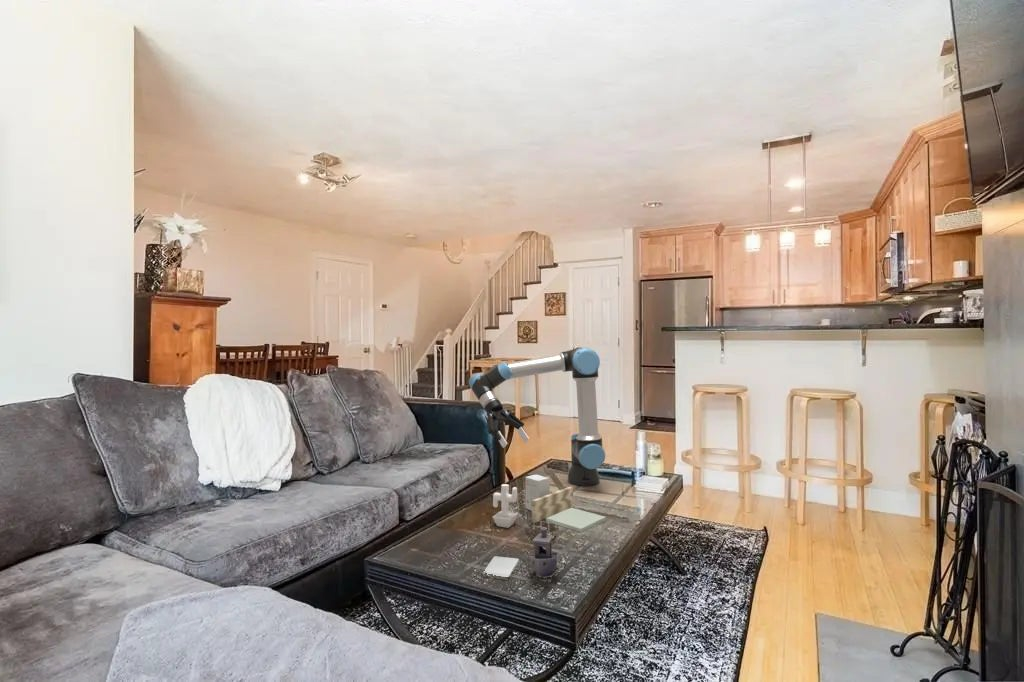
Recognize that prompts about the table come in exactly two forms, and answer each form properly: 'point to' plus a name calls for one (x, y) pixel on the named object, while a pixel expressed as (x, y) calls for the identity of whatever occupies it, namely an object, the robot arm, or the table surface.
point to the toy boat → (544, 555)
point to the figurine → (505, 506)
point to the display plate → (576, 519)
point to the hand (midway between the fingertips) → (516, 443)
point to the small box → (535, 488)
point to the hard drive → (501, 566)
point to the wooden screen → (552, 504)
